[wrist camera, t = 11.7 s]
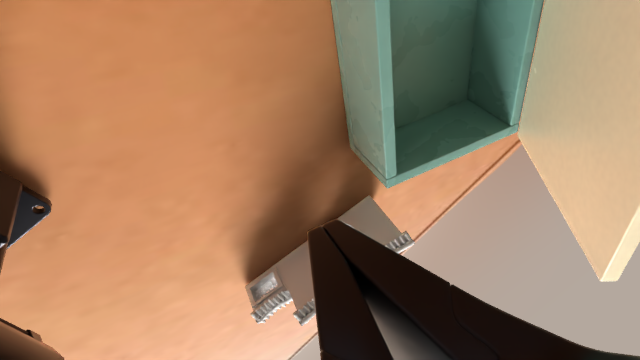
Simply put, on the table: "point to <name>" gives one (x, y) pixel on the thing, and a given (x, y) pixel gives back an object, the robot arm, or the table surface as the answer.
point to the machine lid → (589, 123)
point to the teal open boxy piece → (431, 78)
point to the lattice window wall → (296, 268)
